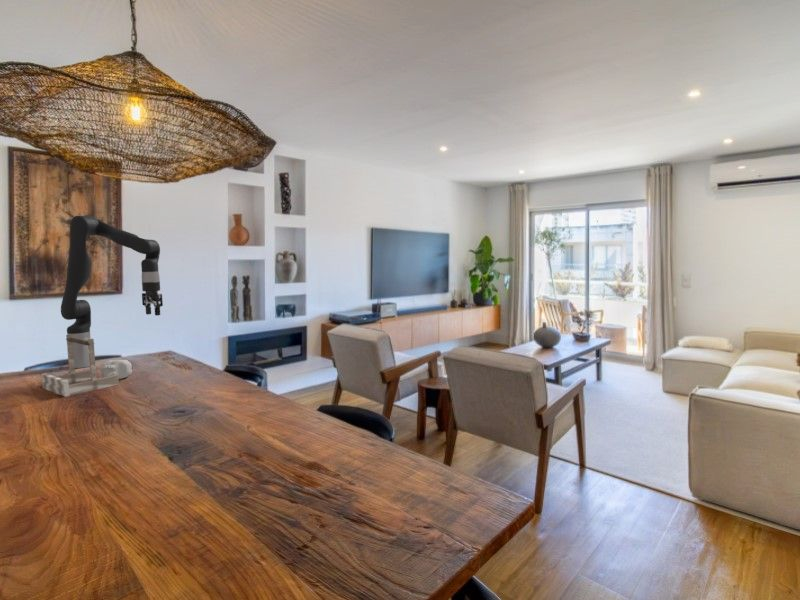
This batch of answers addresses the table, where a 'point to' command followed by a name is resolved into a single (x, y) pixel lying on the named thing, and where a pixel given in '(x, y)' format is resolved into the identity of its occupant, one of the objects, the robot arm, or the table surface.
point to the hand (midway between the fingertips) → (153, 314)
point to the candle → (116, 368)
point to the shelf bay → (78, 374)
